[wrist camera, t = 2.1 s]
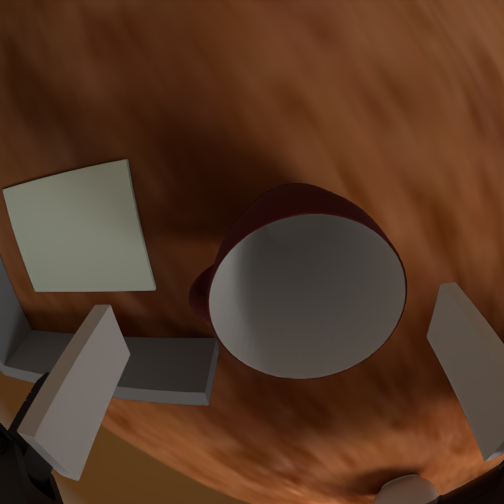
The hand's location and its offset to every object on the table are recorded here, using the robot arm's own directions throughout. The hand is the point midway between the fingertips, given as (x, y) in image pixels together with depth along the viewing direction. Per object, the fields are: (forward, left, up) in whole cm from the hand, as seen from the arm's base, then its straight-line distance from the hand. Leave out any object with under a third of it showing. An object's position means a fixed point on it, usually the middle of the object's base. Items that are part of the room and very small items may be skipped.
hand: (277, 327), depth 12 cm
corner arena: (+16, +1, -10) cm, 20 cm away
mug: (0, 0, -11) cm, 11 cm away
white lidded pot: (-20, +48, -11) cm, 54 cm away
